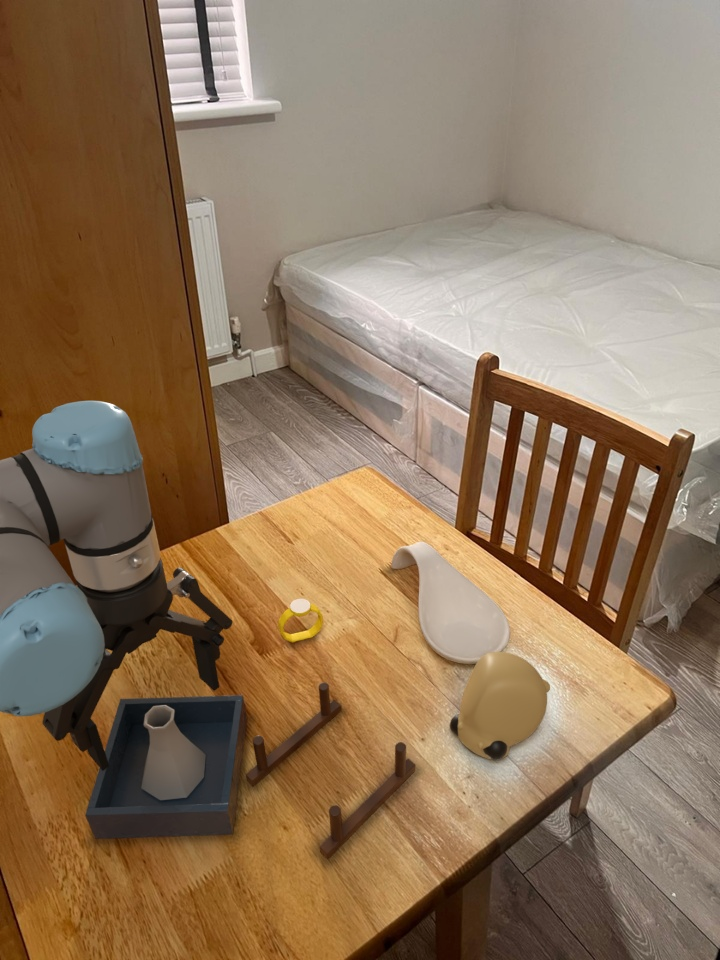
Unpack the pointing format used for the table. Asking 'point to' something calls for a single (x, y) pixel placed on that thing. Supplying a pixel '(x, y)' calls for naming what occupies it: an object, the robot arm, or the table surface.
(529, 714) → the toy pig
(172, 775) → the flask
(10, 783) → the table surface
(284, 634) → the watch
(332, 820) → the drying rack
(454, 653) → the spoon rest
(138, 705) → the basin
